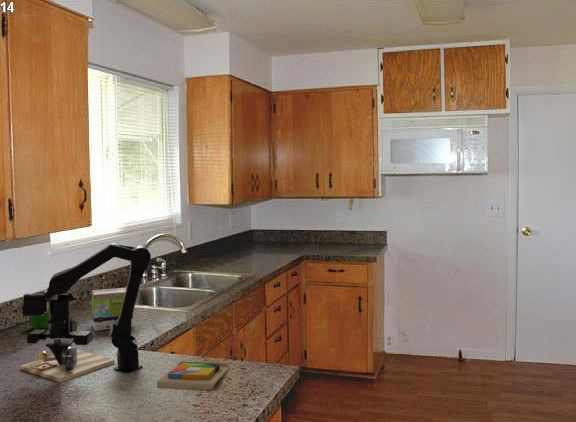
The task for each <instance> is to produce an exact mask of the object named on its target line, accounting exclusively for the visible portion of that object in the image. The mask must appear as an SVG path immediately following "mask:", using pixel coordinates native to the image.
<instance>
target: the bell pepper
mask: <svg viewBox="0 0 576 422" xmlns="http://www.w3.org/2000/svg"><path fill="white" fill-rule="evenodd" d="M28 318H29V323H30V326H31V327H32V329H33V330H35V329H36V330H46V329H47V328H50V324H48V320H49V319H50V307H48V311H47V312H45V314H44V315H43V316H31V317H28Z"/></svg>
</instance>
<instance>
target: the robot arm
mask: <svg viewBox="0 0 576 422" xmlns="http://www.w3.org/2000/svg"><path fill="white" fill-rule="evenodd" d="M151 257H152V255H151V253H150V250H149V249H148V248H147V247H146V246H145V245H136V246H131V245H125V244H124V245H123V244H117V243H115V242H112V243H109V244H108V245H107V246H106V247H104V248H102V249H101V250H100V251H97V252H96V253H94V254H93V255H91V256H89V257H88V258H87V259H85V260H83V261H81V262H80V263H79V264H77V265H75V266H72V267H69V268H67V269H64V270H61V271H59V272H56V273H54V274H53V275H52V276H51V277H50V280H49V282H48V287H47V288H46V289H45V290H44V291H43V293H24V295H23V302H22V307H21V308H22V309H21V310H22V317H23V318H29V317H31V316H43V315H44V314H45V312H47V311H48V308H49V309H50V319H49V320H48V324H50V325H49V332H48V331H47V329H33V330H32V331H30V332H29V333H27V335H26V338H25V339H26V340H25V342H26V344H37V343H38V342H39V341H41V340H45V341H46V344H45V347H47V348H48V349H49V350H50V351H51V353H52V354H53V356H55V358H56V360H57V362H58V364H59V365H61V364H62V362H63V359H64V356H65V353H66V350H67V348H68V346H70V345H71V344H72V345H73V344H74V345H76V346H87V345H89V344H90V343H91V342H92V341H93V340H94V333H93V332H92V331H91V330H80V331H78V332H77V330H78V323H79V321H78V320H73V317H72V316H73V315H71V303H70V302H72V301H76V299H77V295H76V294H74V292H72V290H70V289H71V288H73V286H74V285H75V284H77V282H78V281H80V280H81V279H82V278H83V277H84V276H86V275H88V274H89V273H91V272H92V271H94V270H96V269H98V268H99V267H101V266H102V265H104V264H106V263H107V262H109V261H111V260H112V259H114V258H116V259H117V258H118V259H120V260H121V259H122V260H125V261H129V263H130V264H129V265H130V266H129V275H128V278H127V279H128V280H127V283H126V287H125V288H126V291H125V295H124V300H123V304H122V308H121V312H120V315H119V317H118V319H117V321H116V320H112V327H111V329H109V331H108V332H109V338H111V344H112V345H113V347H115V348H117V349H116V351H117V353H116V358H117V359H116V360H117V366H115V367H114V368H113V370H115V371H118V372H122V373H127V374H128V373H132V372H133V371H136V370H139V369H142V368H143V367H144V366H143V365H142V364H139V360H140V359H139V349H138V347H139V345H138V341H137V338H136V337H135V336H134V335H132V327H131V319H132V315H133V316H134V311H135V308H136V307H135V306H136V303H137V298H138V295H139V289H140V285H141V282H142V278H143V275H144V273H145V272H146V270H147V268H148V265H149V264H150V261H151ZM69 290H70V291H69ZM68 291H69V292H68ZM66 292H68V293H66ZM48 302H49V303H48ZM48 304H49V305H48ZM48 306H49V307H48ZM74 332H77V333H74ZM72 333H73V334H72Z"/></svg>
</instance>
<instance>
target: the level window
mask: <svg viewBox="0 0 576 422" xmlns="http://www.w3.org/2000/svg"><path fill="white" fill-rule="evenodd" d="M44 364H49V365H52V366H49V367H46V365H44ZM41 365H43V366H42V367H46V368H43V369H40V368H37V367H38V366H41ZM55 366H57V365H56V364H53V363H49V362H44V363H41V364H38V365H35V366H31V368H33V369H36V370H39V371H43V370H46V369H49V368H52V367H55Z"/></svg>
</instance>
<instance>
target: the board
mask: <svg viewBox="0 0 576 422" xmlns="http://www.w3.org/2000/svg"><path fill="white" fill-rule="evenodd" d="M50 357H54V355H50ZM46 362H49V363H53V364H56V365H57V366H55V367H52V368H49V369H46V370H43V371H39V370H36V369H33V368H31V366H35V365H38V364H41V363H44V360H40V359H38V360H36V361H35V360H34V361H31V362H29V363H25V364H23V365H20V370H21V371H25V372H28V373H30V374H34V375H37V376H40V377H42V378H45V379H49V380H52V381H55V382H59V383H63V382H65V381H68V380H71V379H74V378H77V377H80V376H82V375H85V374H89V373H91V372H93V371H96V370H100V369H102V368H105V367H108V366H112V365H114V364H115V363H116V362H115V359H114V358H109V357H106V356H102V355H98V354H96V353H91V352H88V351H83V350H80V349H77V362H75V363H74V369H73V370H70V371H66V370H65V364H61V365H59V364H58V362H57V360H54V361H46ZM44 365H46V367H49V366H52V365H49V364H44ZM42 366H43V365H41V366H38V367H37V368H40V369H43V368H46V367H42Z"/></svg>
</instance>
